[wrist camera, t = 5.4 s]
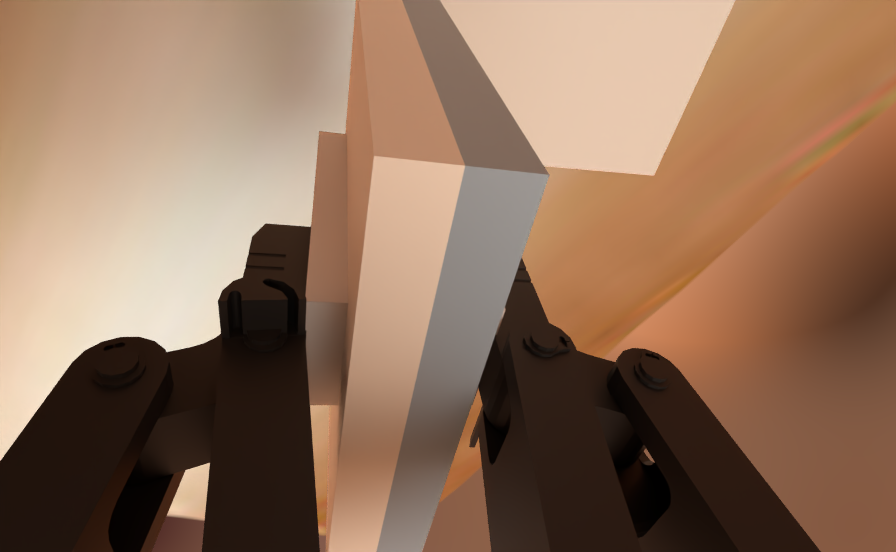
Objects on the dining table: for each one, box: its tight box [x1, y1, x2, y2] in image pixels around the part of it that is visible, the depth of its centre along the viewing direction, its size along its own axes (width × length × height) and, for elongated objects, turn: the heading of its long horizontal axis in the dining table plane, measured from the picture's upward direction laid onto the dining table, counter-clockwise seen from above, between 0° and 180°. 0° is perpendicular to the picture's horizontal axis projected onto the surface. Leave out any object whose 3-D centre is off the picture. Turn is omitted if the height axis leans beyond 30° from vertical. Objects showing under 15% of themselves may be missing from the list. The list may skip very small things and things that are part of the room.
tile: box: [326, 0, 549, 552], centre depth 12 cm, size 10×2×9 cm, turn 169°
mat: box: [440, 0, 735, 175], centre depth 28 cm, size 11×16×1 cm
